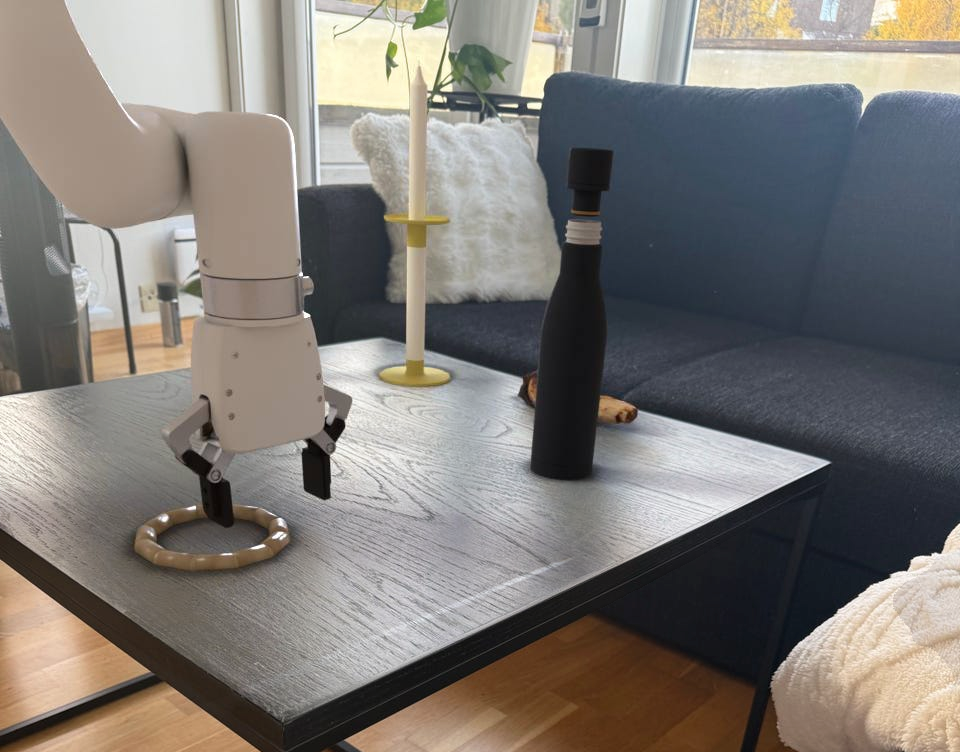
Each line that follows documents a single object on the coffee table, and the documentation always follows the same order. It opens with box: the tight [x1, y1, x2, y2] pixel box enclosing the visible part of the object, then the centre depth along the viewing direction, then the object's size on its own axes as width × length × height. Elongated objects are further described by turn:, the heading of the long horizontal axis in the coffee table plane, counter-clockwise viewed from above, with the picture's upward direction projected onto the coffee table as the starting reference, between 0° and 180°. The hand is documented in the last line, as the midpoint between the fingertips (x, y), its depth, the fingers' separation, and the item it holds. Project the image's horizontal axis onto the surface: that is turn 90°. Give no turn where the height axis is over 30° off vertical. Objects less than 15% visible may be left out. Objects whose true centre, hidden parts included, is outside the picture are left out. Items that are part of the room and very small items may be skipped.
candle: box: [378, 60, 452, 387], centre depth 119 cm, size 10×10×38 cm
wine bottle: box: [529, 147, 614, 481], centre depth 88 cm, size 6×6×30 cm
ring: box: [133, 503, 291, 572], centre depth 76 cm, size 12×12×2 cm
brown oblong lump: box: [517, 370, 639, 425], centre depth 112 cm, size 9×5×18 cm
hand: (270, 508), depth 78 cm, fingers open, 9 cm apart
